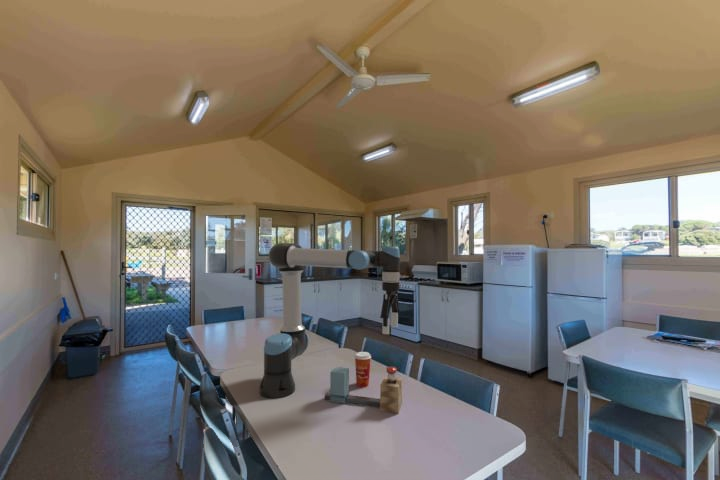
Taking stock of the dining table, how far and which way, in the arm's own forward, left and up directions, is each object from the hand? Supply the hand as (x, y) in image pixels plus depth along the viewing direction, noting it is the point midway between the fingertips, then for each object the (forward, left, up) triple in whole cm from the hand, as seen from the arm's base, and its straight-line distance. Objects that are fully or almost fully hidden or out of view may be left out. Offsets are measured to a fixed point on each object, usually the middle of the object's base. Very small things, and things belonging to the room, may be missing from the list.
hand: (390, 330), depth 147 cm
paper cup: (-14, +5, -27) cm, 31 cm away
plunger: (+3, -13, -18) cm, 22 cm away
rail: (-13, -13, -27) cm, 32 cm away
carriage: (-19, -13, -27) cm, 35 cm away
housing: (+3, -13, -27) cm, 30 cm away
